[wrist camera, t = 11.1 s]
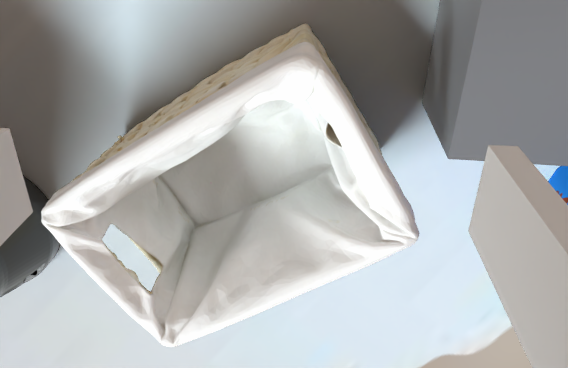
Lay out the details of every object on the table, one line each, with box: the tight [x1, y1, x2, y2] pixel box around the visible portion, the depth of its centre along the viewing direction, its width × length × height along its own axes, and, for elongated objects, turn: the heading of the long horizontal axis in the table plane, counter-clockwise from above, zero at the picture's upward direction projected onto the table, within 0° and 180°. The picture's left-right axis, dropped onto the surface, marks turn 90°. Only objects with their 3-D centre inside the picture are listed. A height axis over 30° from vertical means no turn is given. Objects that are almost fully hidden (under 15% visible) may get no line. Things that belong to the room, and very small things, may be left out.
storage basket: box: [41, 24, 419, 347], centre depth 41 cm, size 24×16×15 cm
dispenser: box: [422, 0, 568, 166], centre depth 35 cm, size 15×10×11 cm, turn 178°
